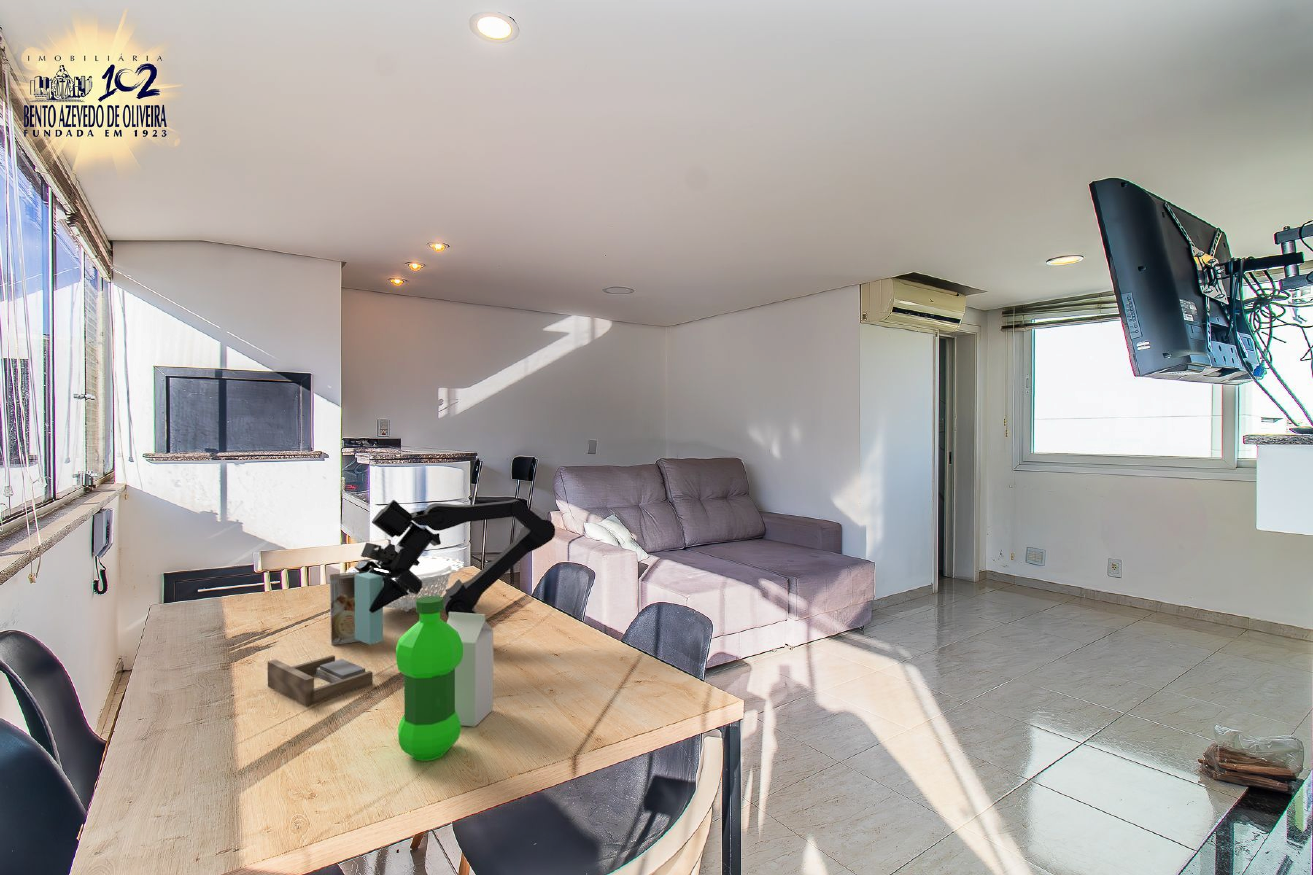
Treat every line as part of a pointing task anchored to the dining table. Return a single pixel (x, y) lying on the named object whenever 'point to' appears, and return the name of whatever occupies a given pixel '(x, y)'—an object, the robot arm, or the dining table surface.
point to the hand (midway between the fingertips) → (362, 609)
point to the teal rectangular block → (365, 621)
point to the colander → (426, 578)
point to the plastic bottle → (429, 683)
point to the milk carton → (473, 668)
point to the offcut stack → (338, 670)
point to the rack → (311, 681)
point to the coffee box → (342, 608)
